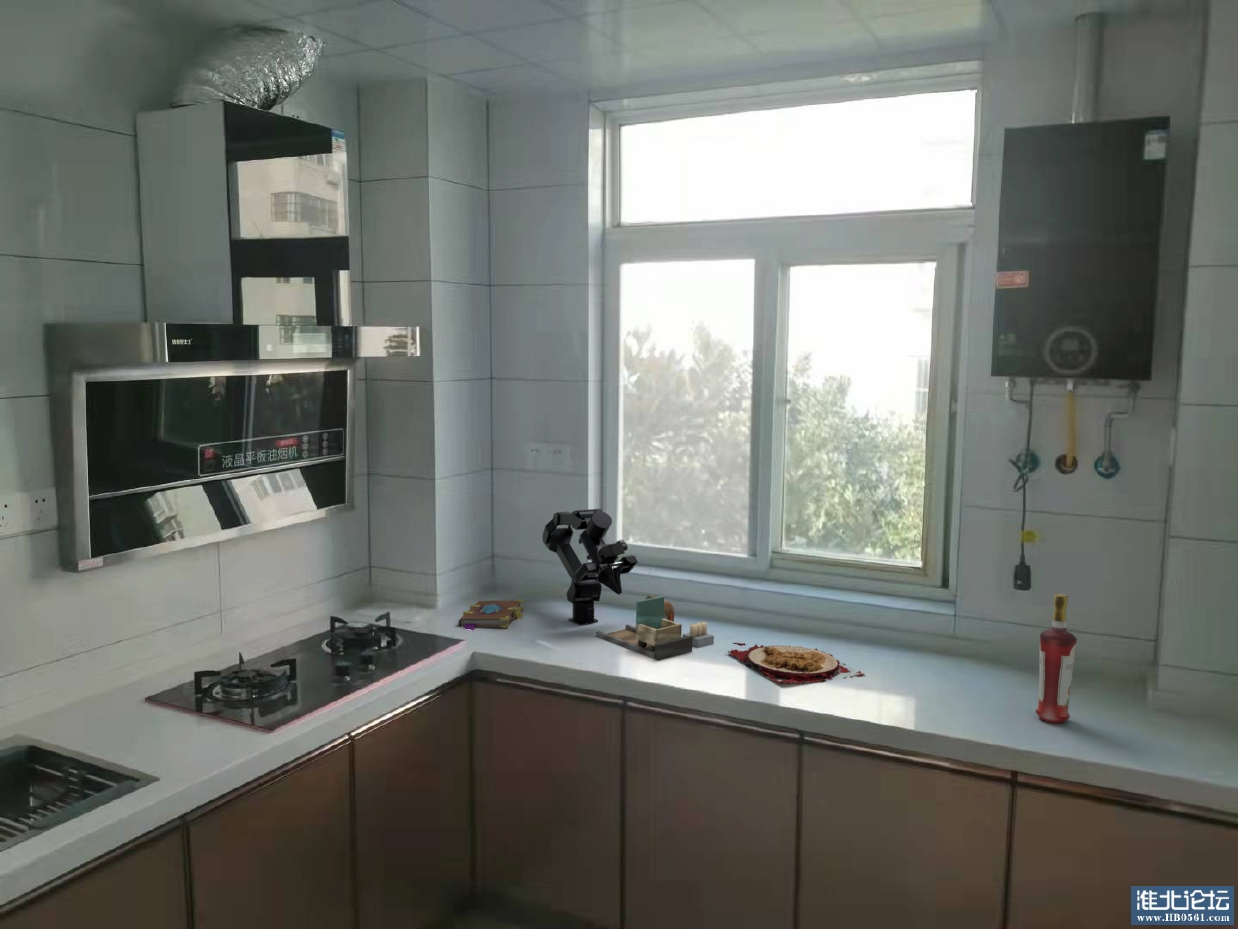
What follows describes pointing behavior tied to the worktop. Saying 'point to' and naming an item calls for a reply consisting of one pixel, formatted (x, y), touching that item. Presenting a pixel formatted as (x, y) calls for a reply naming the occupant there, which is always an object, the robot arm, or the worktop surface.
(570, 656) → the worktop surface
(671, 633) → the cart
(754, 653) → the plate with food
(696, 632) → the grey block with cylinders
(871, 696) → the worktop surface
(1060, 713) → the liquor
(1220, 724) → the worktop surface
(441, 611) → the worktop surface
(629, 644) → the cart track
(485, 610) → the book
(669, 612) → the tin
